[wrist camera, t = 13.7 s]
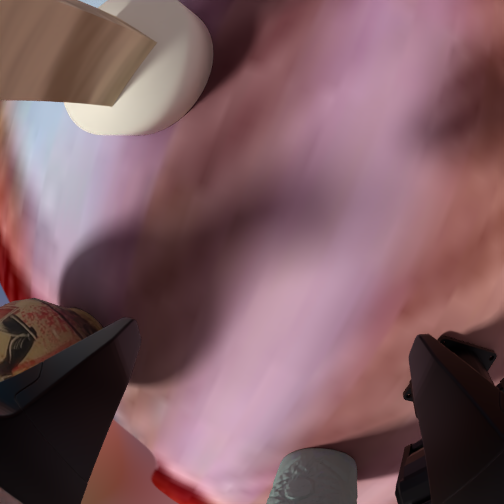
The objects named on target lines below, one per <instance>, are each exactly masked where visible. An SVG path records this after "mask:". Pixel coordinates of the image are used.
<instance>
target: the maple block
mask: <svg viewBox="0 0 504 504" xmlns="http://www.w3.org/2000/svg"><path fill="white" fill-rule="evenodd" d="M156 44H157V42H155V41H154V40H152V39H151V38H149V37H148V36H146V35H145V34H143V33H142V32H140V31H139V30H137V29H136V28H134V27H132V26H131V25H129V24H128V23H126V22H124V21H123V20H121V19H120V18H118V17H116V16H114V15H112V14H110V13H107V12H105V11H103V10H100V9H98V8H96V7H93V6H91V5H88V4H86V3H83V2H81V1H78V0H0V100H26V101H52V102H68V103H81V104H91V105H101V106H110V107H112V106H113V105H114V103H115V102H116V100H117V99H118V97H119V95H120V94H121V92H122V91H123V89H124V88H125V86H126V85H127V83H128V82H129V80H130V79H131V78H132V76H133V75H134V73H135V72H136V70H137V69H138V68H139V66H140V65H141V64H142V62H143V61H144V60H145V58H146V57H147V56H148V54H149V53H150V52H151V50H152V49H153V48H154V46H155V45H156Z"/></svg>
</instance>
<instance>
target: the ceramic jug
mask: <svg viewBox="0 0 504 504" xmlns="http://www.w3.org/2000/svg"><path fill="white" fill-rule="evenodd" d="M101 329H103V327H102V326H101V324H100V323H99V322H98V321H97V320H96V319H95V318H94V317H92V316H91V315H90V314H88V313H87V312H85V311H83V310H80V309H78V308H66V307H61V306H58V305H55V304H52V303H49V302H46V301H43V300H40V299H37V298H32V299H26V300H19V301H13V302H11V303H8V304H5V305H4V306H2V307H0V382H1V381H4V380H6V379H8V378H10V377H13V376H15V375H17V374H19V373H21V372H23V371H25V370H27V369H29V368H31V367H33V366H35V365H37V364H39V363H40V362H43V361H44V360H46V359H48V358H50V357H51V356H53V355H55V354H57V353H59V352H61V351H62V350H64V349H66V348H68V347H70V346H72V345H74V344H75V343H77V342H79V341H81V340H83V339H85V338H86V337H88V336H90V335H92V334H94V333H96V332H98V331H99V330H101Z"/></svg>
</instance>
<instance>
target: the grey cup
mask: <svg viewBox="0 0 504 504" xmlns="http://www.w3.org/2000/svg"><path fill="white" fill-rule="evenodd" d="M266 504H357V467H356V463H355V460H354V459H353V458H351V457H350V456H349V455H347V454H346V453H342V452H340V451H336V450H332V449H324V448H307V449H301V450H298V451H295V452H292V453H290V454H288V455H287V456H286V457H284V459H283V460H282V461H281V463H280V466H279V469H278V471H277V474H276V477H275V479H274V482H273V488H272V490H271V492H270V496H269V498H268V500H267V503H266Z"/></svg>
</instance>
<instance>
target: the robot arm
mask: <svg viewBox="0 0 504 504" xmlns="http://www.w3.org/2000/svg"><path fill="white" fill-rule="evenodd" d="M442 342H445V343H444V344H441V343H442ZM140 345H141V336H140V332H139V328H138V325H137V321H136V320H135V319H133V318H127V317H124V318H122V319H120V320H118V321H116V322H114V323H112V324H110V325H109V326H107V327H105V328H103V329H101V330H99V331H98V332H96V333H94V334H92V335H90V336H88V337H86V338H85V339H83V340H81V341H79V342H77V343H75V344H74V345H72V346H70V347H68V348H66V349H64V350H62V351H61V352H59V353H57V354H55V355H53V356H51V357H50V358H48V359H46V360H44V361H43V362H40V363H39V364H37V365H35V366H33V367H31V368H29V369H27V370H25V371H23V372H21V373H19V374H17V375H15V376H13V377H10V378H8V379H6V380H4V381H1V382H0V504H81V501H82V498H83V495H84V493H85V490H86V487H87V482H88V481H89V478H90V476H91V473H92V470H93V468H94V465H95V462H96V460H97V457H98V455H99V452H100V450H101V447H102V444H103V442H104V440H105V437H106V435H107V432H108V430H109V427H110V425H111V422H112V420H113V418H114V415H115V413H116V411H117V408H118V406H119V404H120V401H121V399H122V397H123V394H124V392H125V390H126V387H127V385H128V382H129V380H130V377H131V374H132V370H133V367H134V364H135V361H136V358H137V355H138V352H139V349H140ZM491 356H492V357H491ZM495 359H496V353H495V352H494V351H493V350H489V349H486V348H483V347H479V346H476V345H473V344H470V343H466V342H463V341H460V340H457V339H453V338H450V337H447V336H442V337H440V338H439V339H438V340H436V339H435V338H433V337H432V336H431V335H429V334H419V335H417V336H416V338H415V341H414V343H413V346H412V348H411V351H410V354H409V365H410V372H411V380H410V384H409V385H408V387H407V388H406V389H405V391H404V392H403V398H404V399H405V400H408V401H412V402H413V403H414V408H415V414H416V417H417V418H418V420H419V425H420V430H421V435H422V439H421V440H419V441H418V442H416V443H414V444H410V445H408V446H407V447H405V449H404V454H403V459H402V463H401V467H400V472H399V476H398V480H397V484H396V491H395V495H396V498H397V502H398V504H504V378H503V379H502V380H501V381H500V383H499V384H498V385H497V386H495V385H494V383H493V381H492V379H491V377H490V375H489V373H488V369H489V368H490V367H491V365H492V364H493V362H494V361H495ZM408 394H410V395H408Z"/></svg>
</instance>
